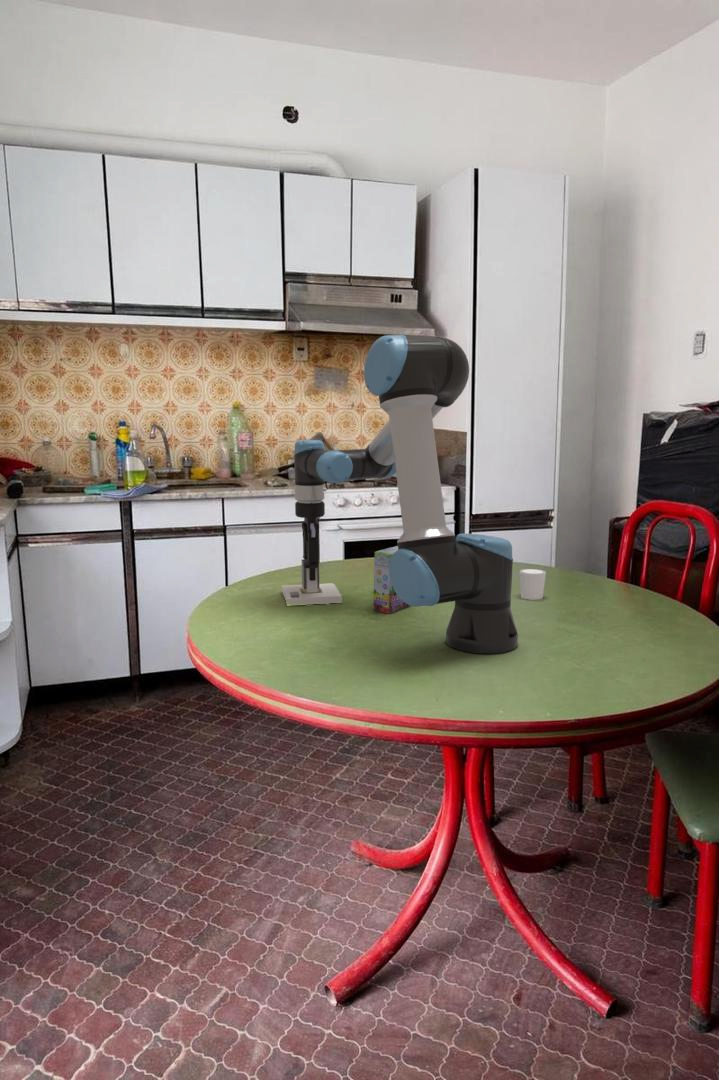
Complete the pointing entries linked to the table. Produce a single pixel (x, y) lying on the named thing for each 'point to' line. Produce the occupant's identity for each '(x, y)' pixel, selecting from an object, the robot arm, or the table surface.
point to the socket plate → (312, 595)
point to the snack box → (385, 584)
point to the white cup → (532, 583)
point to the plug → (304, 577)
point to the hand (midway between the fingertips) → (310, 589)
